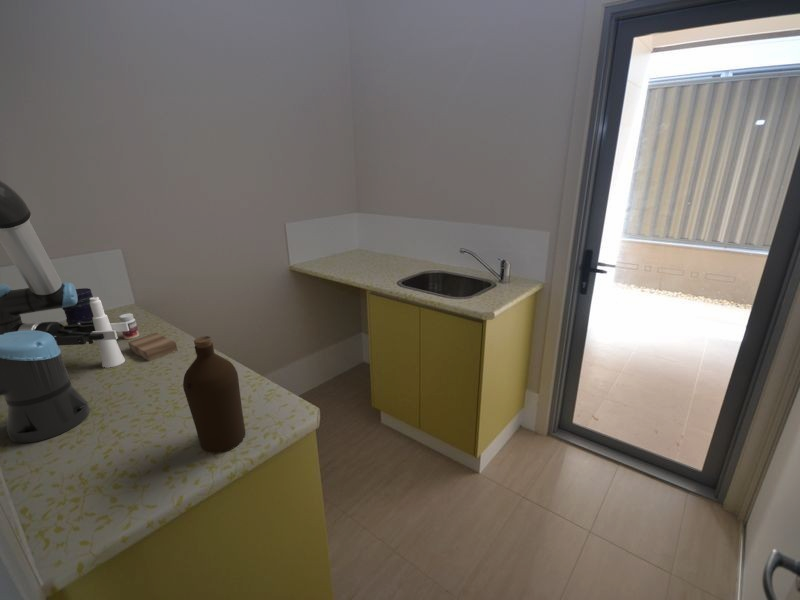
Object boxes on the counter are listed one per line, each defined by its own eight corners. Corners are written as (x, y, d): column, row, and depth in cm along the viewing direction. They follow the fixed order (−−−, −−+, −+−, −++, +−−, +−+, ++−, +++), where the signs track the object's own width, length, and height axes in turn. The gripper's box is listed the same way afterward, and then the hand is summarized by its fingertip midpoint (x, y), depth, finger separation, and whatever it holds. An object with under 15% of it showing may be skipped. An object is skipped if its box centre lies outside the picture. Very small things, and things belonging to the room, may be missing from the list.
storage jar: (101, 321, 158) (90, 286, 153) (103, 329, 151) (92, 292, 146) (69, 328, 152) (57, 292, 147) (70, 336, 145) (57, 298, 140)
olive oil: (241, 453, 85) (220, 349, 76) (189, 457, 84) (163, 352, 75) (253, 422, 94) (236, 327, 86) (207, 426, 94) (186, 330, 85)
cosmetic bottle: (101, 363, 125) (80, 297, 117) (123, 356, 129) (105, 293, 121) (103, 370, 121) (81, 302, 113) (126, 363, 124) (107, 298, 117)
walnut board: (177, 350, 132) (175, 342, 131) (148, 361, 125) (146, 352, 124) (158, 340, 140) (156, 332, 139) (130, 350, 133) (128, 342, 132)
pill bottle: (120, 338, 142) (114, 317, 139) (132, 333, 147) (126, 312, 144) (130, 340, 141) (124, 318, 138) (142, 334, 145) (136, 313, 142)
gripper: (68, 333, 130) (141, 329, 131) (22, 359, 113) (106, 355, 114) (61, 312, 127) (135, 308, 128) (12, 335, 110) (99, 331, 111)
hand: (121, 330), depth 121 cm, fingers open, 5 cm apart
